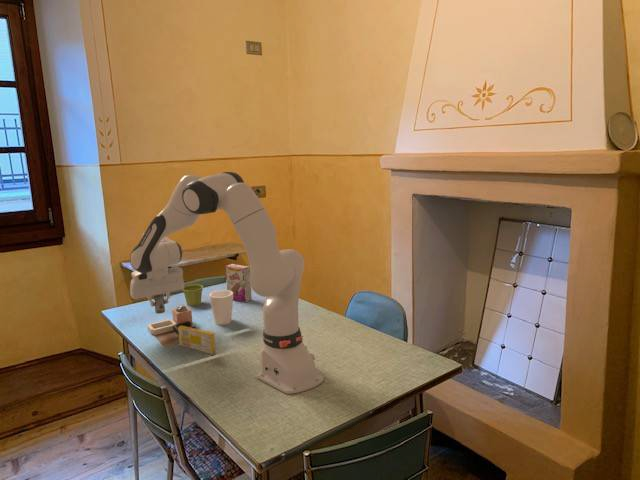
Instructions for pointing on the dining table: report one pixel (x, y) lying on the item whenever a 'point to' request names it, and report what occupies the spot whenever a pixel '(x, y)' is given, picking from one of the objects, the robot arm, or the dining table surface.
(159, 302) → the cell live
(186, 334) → the candy box
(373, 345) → the dining table surface
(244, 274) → the candy bar box
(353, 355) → the dining table surface
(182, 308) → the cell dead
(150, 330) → the trough
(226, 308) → the foam cup
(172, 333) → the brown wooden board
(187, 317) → the terracotta square box
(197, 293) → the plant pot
